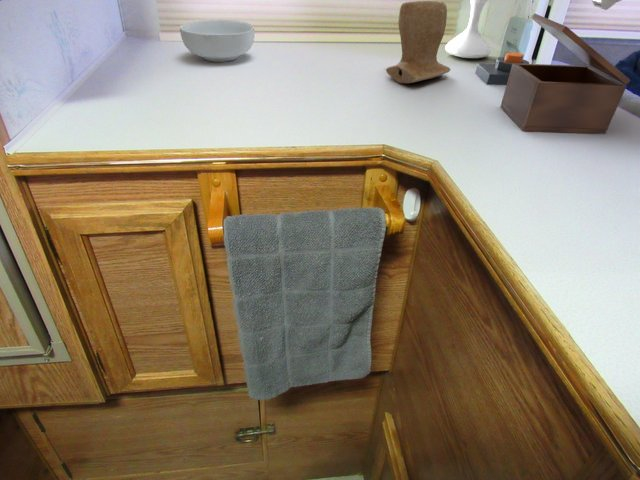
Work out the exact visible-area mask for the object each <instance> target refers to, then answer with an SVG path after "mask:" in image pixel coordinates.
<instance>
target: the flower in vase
mask: <svg viewBox="0 0 640 480" xmlns="http://www.w3.org/2000/svg"><path fill="white" fill-rule="evenodd" d="M487 2H488V0H470V15H469V16H470V17H469V21H468V25H467V27H466V29H465V30H464V31H463V32H461V33H460V34H459V35H457V36H455V37H454V38H453V39H451V40H450V41H449V42H448V43H447V44H446V45H445V47H444V48H445V51H446V52H447V53H448V54H449V55H451V56H454V57H458V58H463V59H481V58H484V57H487V56H489V55H490V54H491V51H492V50H491V47H490V45H489V44H488V42H487V40H486V39H485V38H484V37H483V36H482V35H481V33H480V31H479V22H480V18H481V14H482V12H483V9H484V6H485V5H486V3H487Z"/></svg>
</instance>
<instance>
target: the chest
mask: <svg viewBox="0 0 640 480" xmlns="http://www.w3.org/2000/svg"><path fill="white" fill-rule="evenodd" d="M627 87H628V85H627V84H624V83H622V82H620V81H618V80H616V79H614V78H612V77H610V76H609V75H607V74H605V73H603V72H601V71H599V70H597V69H595V68H593V67H591V66H589V65H574V64H573V65H571V64H546V63H545V64H541V63H529V64H516V63H513V64H512V68H511V71H510V75H509V78H508V82H507V85H505V89H504V93H503V96H502V100H501V103H500V107H499V108H500V109H502V111H503V112H504V113H505V114H506V115H507V116H508V117H509V118H510V119H511V120H512V121H513V122H514V123H515V124H516V125H517V127H518V128H520V129H521V130H522V131H523V132H535V131H537V132H538V131H540V132H538V133H567V134H569V133H570V134H573V133H574V134H595V133H598V134H599V133H606V134H607V131H608V129H609V127H610V125H611V123H612V120H613V118H614V115H615V114H616V111H617V109H618V106H619V104H620V102H621V101H622V97H623V95H624V94H625V91H626V90H627ZM598 134H597V135H598ZM599 135H600V134H599Z"/></svg>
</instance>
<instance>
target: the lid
mask: <svg viewBox="0 0 640 480" xmlns="http://www.w3.org/2000/svg"><path fill="white" fill-rule="evenodd" d="M530 19H532V20H533V21H534V22H535V23H536V24H537V25H539V26H540V27H541V28H542V29H544V30H545V32H547V33H549V34H550V35H551V36H552V37H554V39H556V40H557V41H559V43H561V44H562V45H564V47H566V48H567V49H569V51H571V52H572V53H573V54H574V55H575V56H577V57H578V58H579V59H581V60H582V62H584V63H586V65H587V66H591V67H592V68H594V69H596V70H598V71H600V72H602V73H604V74H606V75H608V76H609V77H611V78H613V79H615V80H617V81H619V82H621V83H623V84H625V85H628V84H629V83H630V82H631V79H630V78H629V77H628V76H626V75H625V74H624V73H623V72H621V70H619V69H618V68H617V67H615V66H614V65H613V64H612V63H611V62H609V60H608V59H606V58H605V57H604V56H603V55H602V54H601V53H599V52H598V51H597V50H595V49H594V48H593V47H592V46H590V45H589V44H588V43H587V42H586V41H585V40H583V39H582V38H581V37H580V36H579V35H577V33H575V32H574V31H572V29H570V28H569V27H568V26H566V25H564V24H562V23H559V22H556V21H554V20H551V19H550V18H547V17H544V16H542V15H540V14H537V13H533V14H532V16H531V17H530Z"/></svg>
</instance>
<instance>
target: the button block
mask: <svg viewBox="0 0 640 480" xmlns="http://www.w3.org/2000/svg"><path fill="white" fill-rule="evenodd" d="M504 59H505V56H501V57H498V58H497V59H496V61H495V63H479V62H478V63H477V64H476V67H475V72H474V73H475V75H476V76H478V77H479V79H480V80H481V81H482V82H484V83H485V85H487V86H506V85H507V82H508V78H509V75H510V71H511V68H512V64H513V63H509V62H505V61H504ZM516 64H530V62H529V61H528V60H527V59H523V60H522V63H516Z"/></svg>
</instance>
